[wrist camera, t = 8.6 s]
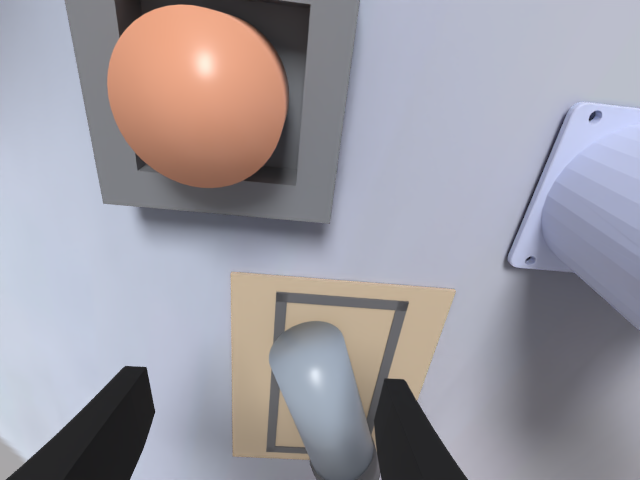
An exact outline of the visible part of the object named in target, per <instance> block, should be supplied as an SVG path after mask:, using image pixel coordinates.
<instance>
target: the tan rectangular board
mask: <svg viewBox="0 0 640 480" xmlns="http://www.w3.org/2000/svg"><path fill="white" fill-rule="evenodd" d="M455 292H456V291H455V289H445V288H433V287H420V286H407V285H394V284H381V283H369V282H356V281H343V280H330V279H317V278H305V277H292V276H279V275H266V274H253V273H241V272H231V343H232V440H233V456H234V457H256V458H279V459H302V460H310V458H309V455H308V453H307V451H306V448H305V446H304V444H303V441H302V439H301V437H300V434H299V432H298V430H297V427H296V425H295V423H294V420H293V418H292V416H291V413H290V411H289V409H288V406H287V404H286V402H285V399H284V397H283V395H282V392H281V390H280V388H279V385H278V383H277V381H276V378H275V376H274V374H273V371H272V369H271V367H270V364H269V353H270V350H271V347H272V345H273V344H274V342H275V341H276V339H277V338H278V337H279V336H280V335H281V334H282V333H284V332H285V331H286V330H288V329H290V328H291V327H293V326H295V325H298V324H301V323H304V322H309V321H323V322H327V323H330V324H332V325H334V326H336V327H337V328H338V329H339V330H340V331H341V333H342V335H343V337H344V340H345V344H346V348H347V351H348V355H349V359H350V362H351V366H352V369H353V373H354V377H355V380H356V384H357V387H358V391H359V395H360V398H361V402H362V406H363V409H364V413H365V416H366V420H367V424H368V427H369V431H370V434H371V436H372V438H373V440H374V444H375V447H376V439H375V428H374V418H375V414H376V410H377V406H378V402H379V398H380V394H381V390H382V386H383V382H384V378H389V379H404V380H405V381H406V382H407V384H408V386H409V388H410V389H411V391H412V393H413V395H414V397H415V398H416V400H418V397H419V394H420V391H421V388H422V386H423V383H424V380H425V377H426V374H427V371H428V369H429V366H430V363H431V360H432V357H433V354H434V352H435V349H436V346H437V343H438V340H439V338H440V335H441V332H442V329H443V326H444V323H445V321H446V318H447V315H448V312H449V309H450V306H451V304H452V301H453V298H454V295H455ZM376 451H377V449H376Z"/></svg>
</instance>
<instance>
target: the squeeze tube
mask: <svg viewBox="0 0 640 480" xmlns="http://www.w3.org/2000/svg"><path fill="white" fill-rule="evenodd" d="M269 364H270V367H271V369H272V371H273V374H274V376H275V378H276V381H277V383H278V385H279V388H280V390H281V392H282V395H283V397H284V399H285V402H286V404H287V406H288V409H289V411H290V413H291V416H292V418H293V420H294V423H295V425H296V427H297V430H298V432H299V434H300V437H301V439H302V441H303V444H304V446H305V448H306V451H307V453H308V455H309V458H310V465H311V468H312V471H313V473H314V475H315V477H316V480H379V477H380V468H379V463H378V457H377V451H376V447H375V444H374V440H373V438H372V436H371V434H370V431H369V427H368V424H367V420H366V416H365V413H364V409H363V406H362V402H361V398H360V395H359V391H358V387H357V384H356V380H355V377H354V373H353V369H352V366H351V362H350V359H349V355H348V351H347V348H346V344H345V340H344V337H343V335H342V333H341V331H340V330H339V329H338V328H337V327H336V326H334V325H332V324H330V323H327V322H323V321H309V322H304V323H301V324H298V325H295V326H293V327H291V328H290V329H288V330H286V331H285V332H284V333H282V334H281V335H280V336H279V337H278V338H277V339H276V341H275V342H274V344H273V345H272V347H271V350H270V353H269Z"/></svg>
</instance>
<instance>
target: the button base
mask: <svg viewBox="0 0 640 480" xmlns="http://www.w3.org/2000/svg"><path fill="white" fill-rule="evenodd" d="M359 2H360V0H65V4H66V10H67V15H68V20H69V25H70V31H71V36H72V41H73V47H74V52H75V57H76V62H77V68H78V73H79V78H80V83H81V89H82V94H83V99H84V104H85V110H86V115H87V120H88V125H89V131H90V136H91V141H92V147H93V152H94V157H95V162H96V168H97V173H98V178H99V183H100V189H101V194H102V199H103V204H113V205H125V206H136V207H147V208H159V209H170V210H181V211H192V212H204V213H215V214H226V215H237V216H249V217H260V218H271V219H283V220H294V221H305V222H316V223H328V224H330V217H331V209H332V202H333V195H334V187H335V180H336V172H337V165H338V157H339V150H340V143H341V135H342V128H343V120H344V113H345V105H346V98H347V91H348V83H349V76H350V68H351V61H352V53H353V46H354V39H355V31H356V24H357V16H358V9H359ZM170 5H194V6H199V7H204V8H208V9H212V10H215V11H219V12H223V13H226V14H230V15H232V16H235V17H238V18H240V19H242V20H244V21H246V22H248V23H249V24H251V25H252V26H254V27H255V28H256V29H258V30H259V31H260V32H261V33H262V34H263V35H264V36H265V37H266V38H267V39H268V40H269V42H270V43H271V44H272V45H273V47H274V48H275V50H276V51H277V53H278V55H279V57H280V59H281V61H282V63H283V65H284V68H285V71H286V74H287V79H288V84H289V107H288V112H287V116H286V120H285V123H284V126H283V129H282V132H281V135H280V138H279V141H278V143H277V146H276V148H275V150H274V152H273V153H272V155H271V157H270V158H269V159H268V160H267V162H266V163H265V164H264V165H263V166H262V167H261V168H260V169H259V170H258V171H257V172H256V173H254V174H253V175H251V176H250V177H248V178H247V179H245V180H243V181H241V182H238V183H236V184H233V185H229V186H225V187H218V188H200V187H193V186H189V185H185V184H181V183H179V182H176V181H174V180H171V179H169V178H167V177H165V176H164V175H162V174H160V173H159V172H157V171H156V170H154V169H153V168H151V167H150V166H149V165H148V164H146V163H145V162H144V161H143V160H142V159H141V158H140V157H139V156H138V155H137V154H136V153H135V152H134V151H133V149H132V148H131V147H130V146H129V144H128V143H127V142H126V140H125V138H124V137H123V135H122V134H121V132H120V130H119V128H118V126H117V124H116V122H115V119H114V116H113V113H112V110H111V107H110V102H109V98H108V88H107V76H108V68H109V62H110V58H111V55H112V52H113V49H114V47H115V45H116V43H117V41H118V39H119V38H120V37H121V35H122V34H123V32H124V31H125V30H126V29H127V28H128V27H129V26H130V25H131V24H132V23H133V22H134V21H135V20H136V19H138V18H139V17H141V16H142V15H144V14H146V13H148V12H150V11H152V10H154V9H157V8H161V7H165V6H170Z"/></svg>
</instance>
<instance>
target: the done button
mask: <svg viewBox="0 0 640 480" xmlns="http://www.w3.org/2000/svg"><path fill="white" fill-rule="evenodd" d="M107 88H108V98H109V102H110V107H111V110H112V113H113V116H114V119H115V122H116V124H117V126H118V128H119V130H120V132H121V134H122V135H123V137H124V138H125V140H126V142H127V143H128V144H129V146H130V147H131V148H132V149H133V151H134V152H135V153H136V154H137V155H138V156H139V157H140V158H141V159H142V160H143V161H144V162H145V163H146V164H148V165H149V166H150V167H151V168H153V169H154V170H156V171H157V172H159V173H160V174H162V175H164V176H165V177H167V178H169V179H171V180H174V181H176V182H179V183H181V184H185V185H189V186H193V187H200V188H218V187H225V186H229V185H233V184H236V183H238V182H241V181H243V180H245V179H247V178H248V177H250V176H251V175H253V174H254V173H256V172H257V171H258V170H259V169H260V168H261V167H262V166H263V165H264V164H265V163H266V162H267V160H268V159H269V158H270V157H271V155H272V153H273V152H274V150H275V148H276V146H277V143H278V141H279V138H280V135H281V132H282V129H283V126H284V123H285V120H286V116H287V112H288V107H289V84H288V79H287V74H286V71H285V68H284V65H283V63H282V61H281V59H280V57H279V55H278V53H277V51H276V50H275V48H274V47H273V45H272V44H271V43H270V42H269V40H268V39H267V38H266V37H265V36H264V35H263V34H262V33H261V32H260V31H259V30H258V29H256V28H255V27H254V26H252V25H251V24H249V23H248V22H246V21H244V20H242V19H240V18H238V17H235V16H232V15H230V14H226V13H223V12H219V11H215V10H212V9H208V8H204V7H199V6H194V5H170V6H165V7H161V8H157V9H154V10H152V11H150V12H148V13H146V14H144V15H142V16H141V17H139V18H138V19H136V20H135V21H134V22H133V23H132V24H131V25H130V26H129V27H128V28H127V29H126V30H125V31H124V32H123V34H122V35H121V37H120V38H119V39H118V41H117V43H116V45H115V47H114V49H113V52H112V55H111V58H110V62H109V68H108V76H107Z"/></svg>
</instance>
